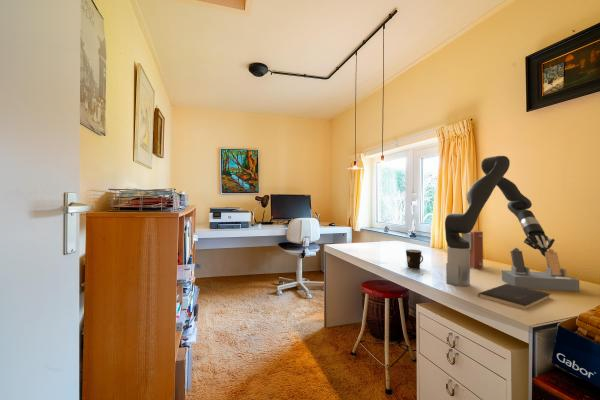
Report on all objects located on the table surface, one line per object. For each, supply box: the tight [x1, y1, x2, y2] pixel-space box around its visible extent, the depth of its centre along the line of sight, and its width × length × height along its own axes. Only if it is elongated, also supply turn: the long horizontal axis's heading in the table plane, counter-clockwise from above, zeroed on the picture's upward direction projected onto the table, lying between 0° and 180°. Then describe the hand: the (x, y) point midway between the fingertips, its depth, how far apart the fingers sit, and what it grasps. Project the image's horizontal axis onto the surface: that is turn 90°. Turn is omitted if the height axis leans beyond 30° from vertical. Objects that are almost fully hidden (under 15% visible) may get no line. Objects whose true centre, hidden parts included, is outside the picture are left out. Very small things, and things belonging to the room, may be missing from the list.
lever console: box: [501, 265, 580, 292], centre depth 126 cm, size 24×12×8 cm, turn 77°
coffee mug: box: [405, 249, 424, 270], centre depth 159 cm, size 12×9×10 cm
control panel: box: [460, 229, 484, 269], centre depth 164 cm, size 21×7×15 cm
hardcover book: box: [477, 283, 552, 310], centre depth 111 cm, size 16×23×2 cm
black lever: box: [509, 247, 526, 273], centre depth 130 cm, size 4×3×12 cm, turn 76°
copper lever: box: [544, 248, 562, 275], centre depth 126 cm, size 4×3×12 cm, turn 77°
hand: (547, 255), depth 130 cm, fingers closed
